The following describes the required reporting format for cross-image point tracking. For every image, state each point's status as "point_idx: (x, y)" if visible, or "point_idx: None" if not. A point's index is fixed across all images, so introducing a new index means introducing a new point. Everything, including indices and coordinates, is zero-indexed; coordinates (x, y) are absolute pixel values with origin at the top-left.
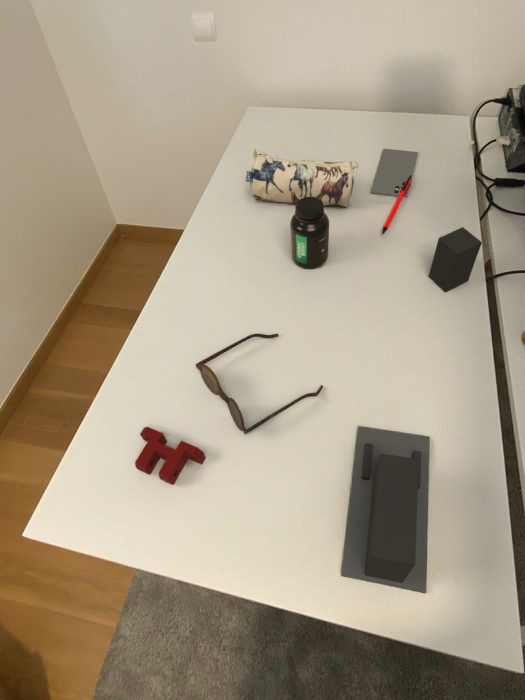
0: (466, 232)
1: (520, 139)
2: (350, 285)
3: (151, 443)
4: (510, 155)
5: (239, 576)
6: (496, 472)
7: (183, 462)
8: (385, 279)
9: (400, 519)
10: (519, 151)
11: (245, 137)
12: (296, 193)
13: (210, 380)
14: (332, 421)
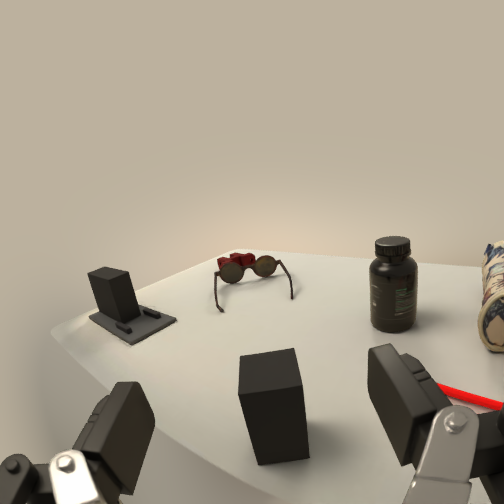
0: (282, 385)
1: None
2: (331, 345)
3: (240, 254)
4: (406, 358)
5: (161, 282)
6: (80, 361)
7: None
8: (325, 375)
9: (101, 272)
10: (432, 392)
11: None
12: (484, 289)
13: (264, 266)
14: (193, 312)
